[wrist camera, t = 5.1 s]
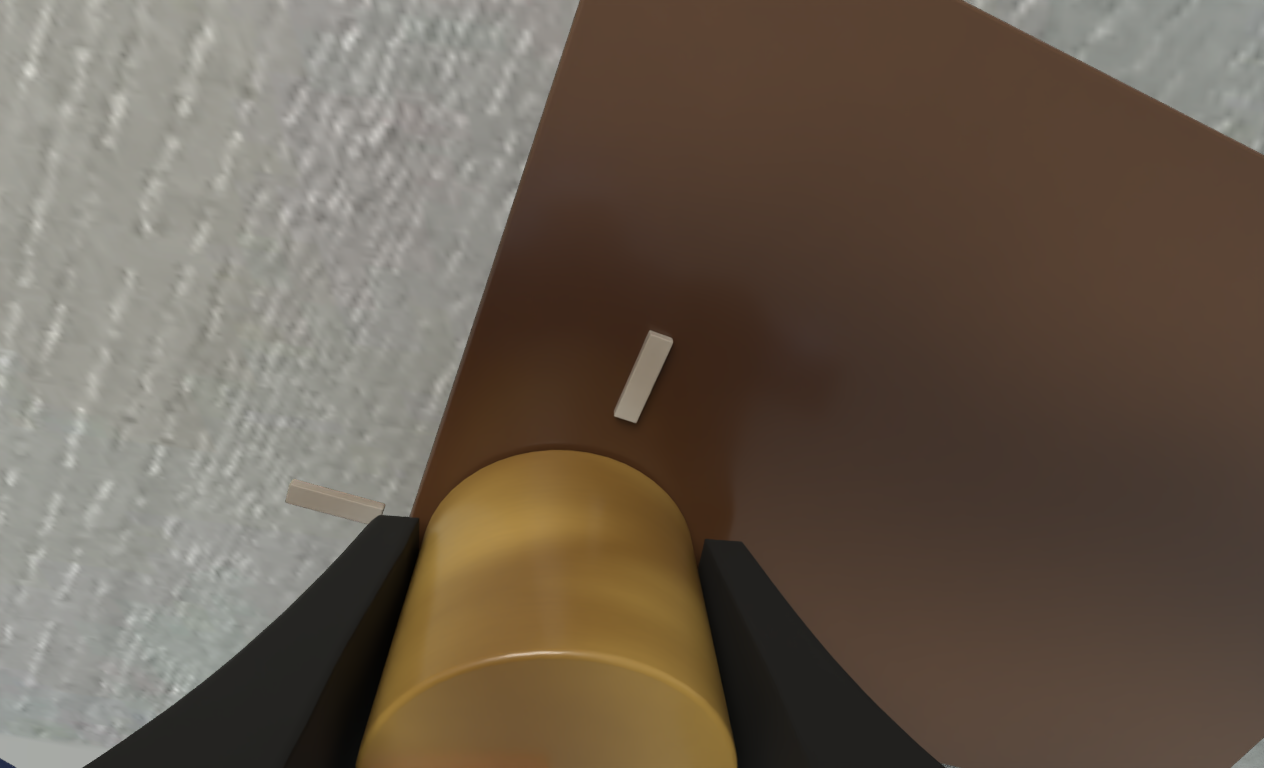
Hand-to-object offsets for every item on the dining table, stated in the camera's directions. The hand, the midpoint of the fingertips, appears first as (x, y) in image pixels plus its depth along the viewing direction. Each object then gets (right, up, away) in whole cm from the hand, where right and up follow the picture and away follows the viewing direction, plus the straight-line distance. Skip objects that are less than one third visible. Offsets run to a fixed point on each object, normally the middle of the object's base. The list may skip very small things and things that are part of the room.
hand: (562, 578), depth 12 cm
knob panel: (+6, +2, +3) cm, 7 cm away
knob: (0, 0, 0) cm, 0 cm away
